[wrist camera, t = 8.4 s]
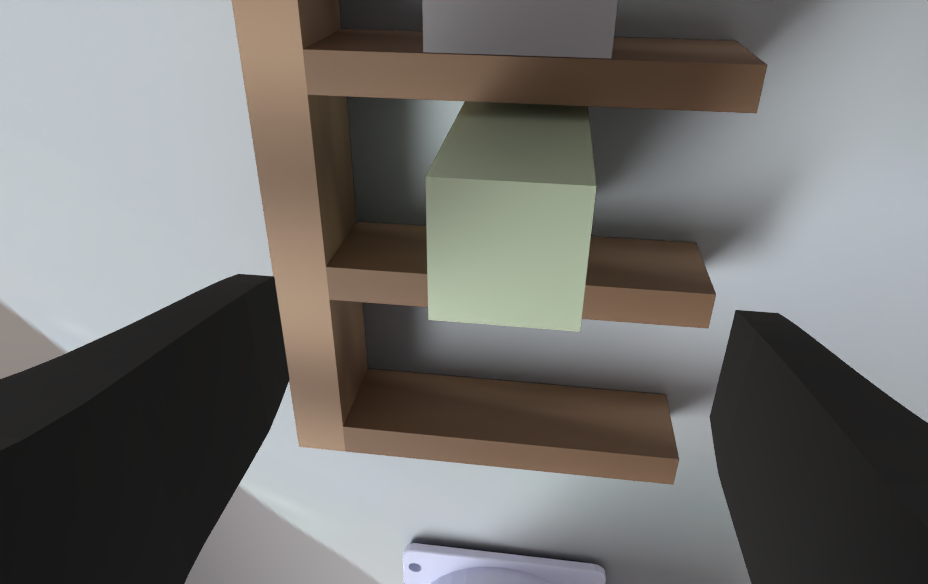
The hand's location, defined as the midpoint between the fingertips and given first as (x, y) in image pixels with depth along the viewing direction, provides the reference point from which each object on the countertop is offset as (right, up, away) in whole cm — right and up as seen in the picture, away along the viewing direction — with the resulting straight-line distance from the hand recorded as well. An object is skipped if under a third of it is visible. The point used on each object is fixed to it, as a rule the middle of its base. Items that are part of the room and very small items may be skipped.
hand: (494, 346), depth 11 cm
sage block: (+1, +5, +8) cm, 9 cm away
